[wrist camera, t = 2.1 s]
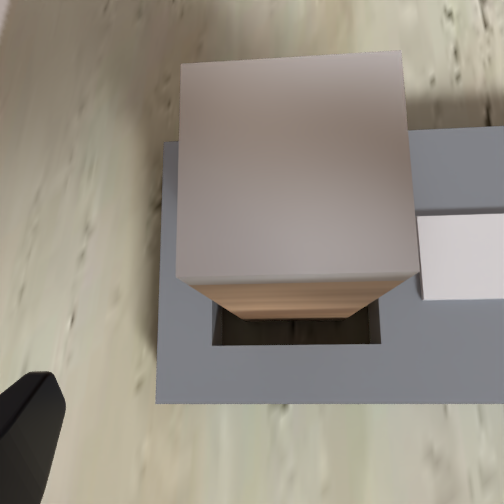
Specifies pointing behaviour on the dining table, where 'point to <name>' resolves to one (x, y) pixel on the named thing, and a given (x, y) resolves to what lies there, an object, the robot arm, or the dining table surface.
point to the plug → (295, 184)
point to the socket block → (379, 311)
